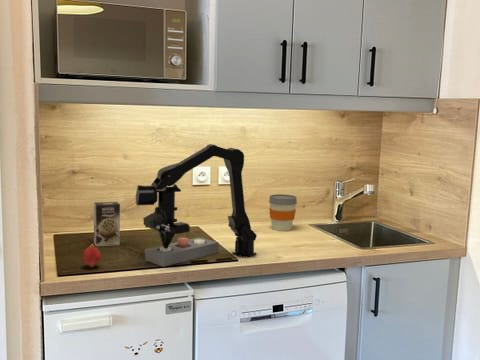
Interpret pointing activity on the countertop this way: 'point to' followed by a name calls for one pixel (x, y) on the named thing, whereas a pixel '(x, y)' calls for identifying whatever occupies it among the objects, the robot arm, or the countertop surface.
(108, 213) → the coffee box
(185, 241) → the button red middle
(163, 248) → the button pale left
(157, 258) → the button panel
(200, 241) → the button pale right
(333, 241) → the countertop surface
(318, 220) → the countertop surface
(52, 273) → the countertop surface
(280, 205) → the reusable coffee cup
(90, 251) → the onion
